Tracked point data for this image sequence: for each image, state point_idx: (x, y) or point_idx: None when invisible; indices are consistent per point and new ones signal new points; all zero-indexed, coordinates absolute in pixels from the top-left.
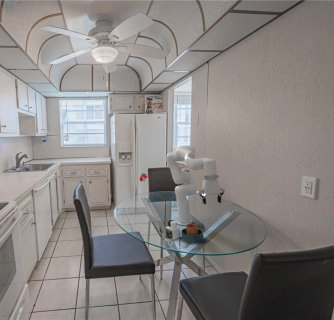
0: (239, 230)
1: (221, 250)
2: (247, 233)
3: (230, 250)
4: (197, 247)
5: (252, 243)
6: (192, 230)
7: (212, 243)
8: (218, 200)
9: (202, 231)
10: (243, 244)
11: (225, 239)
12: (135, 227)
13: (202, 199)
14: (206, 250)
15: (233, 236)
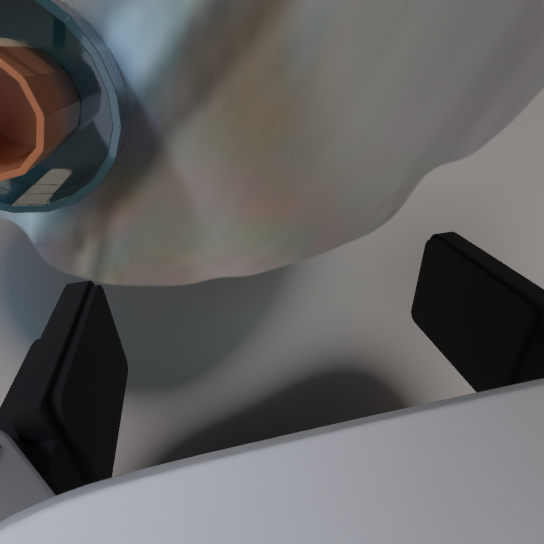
0: None
1: (203, 274)
2: (483, 54)
3: (250, 274)
4: (61, 236)
5: (401, 206)
6: None
7: (179, 187)
8: (444, 296)
9: (114, 120)
10: (351, 215)
11: (290, 135)
12: None
13: (6, 401)
14: (116, 273)
15: (367, 91)
